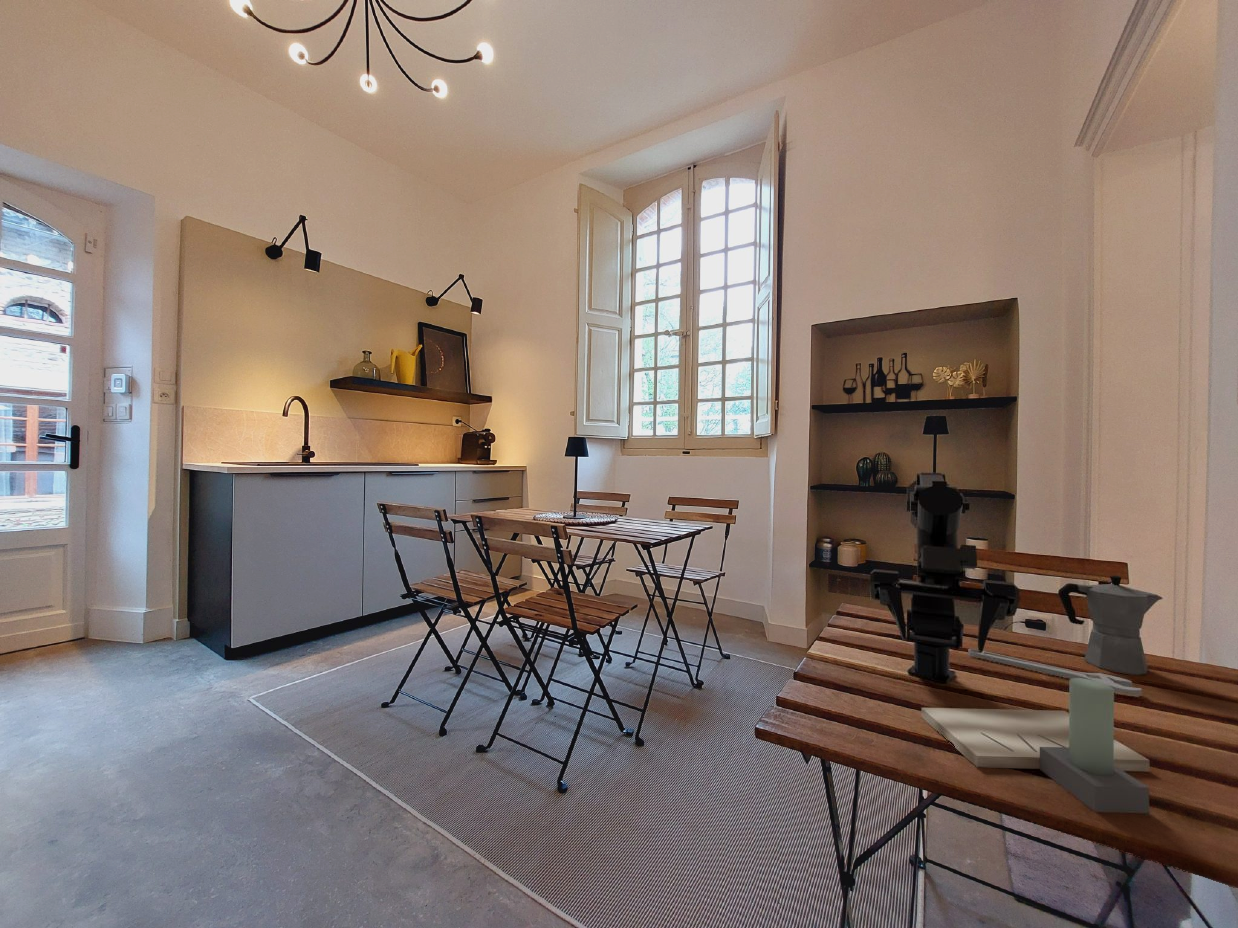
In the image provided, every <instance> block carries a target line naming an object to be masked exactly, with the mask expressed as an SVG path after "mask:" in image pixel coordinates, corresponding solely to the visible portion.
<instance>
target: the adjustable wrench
mask: <svg viewBox="0 0 1238 928" xmlns="http://www.w3.org/2000/svg"><path fill="white" fill-rule="evenodd" d="M967 650H968V656H969V657H971V656H972V657H971V658H974V657H975V658H974V659H978V658H981V659H980V660H982V659H987V660H989V661H988V662H991V661H993V662H992V663H995V662H999V663H998V664H1000V663H1003V664H1002V665H1004V664H1009V665H1014V666H1017V667H1022V668H1027V669H1030V670H1035V671H1041V672H1044V673H1047V674H1046V675H1048V674H1050V675H1049V676H1052V675H1056V676H1061V677H1063V678H1062V679H1065V678H1069V679H1072V678H1083V679H1089V680H1094V681H1097V682H1101V683H1103V684H1106V685H1108V686H1110V687H1112V688H1113V689H1114V691H1115V692H1118V693H1124V694H1131V695H1142V691H1143V690H1142V688H1140V687H1133V682H1132V680H1129V679H1126V678H1123V677H1119V676H1114V675H1110V674H1106V673H1105V674H1104V673H1103V672H1097V673H1095V672H1083V671H1076V670H1072V669H1067V668H1063V667H1058V666H1055V665H1049V664H1046V663H1045V664H1044V663H1040V662H1035V661H1030V660H1026V659H1021V658H1018V657H1013V656H1008V655H1003V654H999V653H995V652H992V651H991V652H990V651H985V650H983V652H982V653H979V650H978V648H977V649H976V648H969V649H967ZM987 660H986V661H987ZM1017 667H1016V668H1017ZM1030 670H1029V671H1030ZM1035 671H1034V672H1035ZM1056 676H1055V677H1056ZM1061 677H1060V678H1061ZM1069 679H1068V680H1069Z"/></svg>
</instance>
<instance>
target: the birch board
mask: <svg viewBox="0 0 1238 928" xmlns="http://www.w3.org/2000/svg"><path fill="white" fill-rule="evenodd" d="M920 712H921V718H922V719H923V721H925V723H927V724H928V725H930V727H932V729H934V730H935V731H936V732H937V731H938V732H939V733H938V732H937V733H938V734H939V735H941V734H942V735H943V736H944V737H946V738H947V739H948V740H950V741H951V742H952V743H953V744H954V746H955V747H954V746H953V747H954V748H955V749H956V750H957V751H959V753H961V754H962V756H964V757H965V758H966V759H967V760H969V761H970V762H971V763H972V764H973V765H974V766H975V767H976V768H995V769H996V768H997V769H998V768H1000V769H1032V770H1033V769H1034V770H1035V769H1036V770H1037V769H1038V770H1040V747H1069V711H1068V712H1067V711H1066V710H1052V709H1051V710H1047V709H1046V710H1044V709H1043V710H1041V709H1006V708H1005V709H1003V708H1001V709H999V708H998V709H997V708H996V709H994V708H954V707H953V708H952V707H951V708H950V707H946V708H945V707H921V711H920ZM942 735H941V736H942ZM943 736H942V737H943ZM944 737H943V738H944ZM1114 766H1116V767H1118V768H1119V769H1121V770H1122V771H1124V772H1146V773H1147V772H1150V759H1148V758H1146V757H1145V756H1144V755H1141V754H1140V753H1138V752H1136V751H1135V750H1133V749H1131V748H1129V747H1128V746H1126V745H1124V744H1122V743H1121V742H1119V741H1117V740H1116V739H1114Z"/></svg>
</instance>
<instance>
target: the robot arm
mask: <svg viewBox="0 0 1238 928" xmlns="http://www.w3.org/2000/svg"><path fill="white" fill-rule="evenodd" d="M963 494H964V493H961V492H959V489H958V487H957V486H954V485H950V484H948V482H947V481H946V474H945V473H941V472H919V473H916V479H915V481H913V482H912V483H910V484H909V485H908V486H907V487H906V512H909V514H910V515H909V516H910V517H909V518H910V521H909V522H910V524H911V525H912V526H913V527H914V528H915V529H916V563H917V564H916V571H917V573H916V575H917V576H916V577H917V580H916V581H911V580H903V579H899V571H897V570H886V569H876V568H875V569H873V570H872V571H870V575H869V577H870V579H869V585H870V587H869V589H870V598H871V599H873V600H875V601H879V604H880V605H882V606H886V607H887V609H888V610H889V612H890V614H891V616H892V617H893V619H894V621H895V623H896V627H897V629H898V631H899V634H900V636H901V639H902V641H903V642H911V643H913V645H914V646H913V650H914V651H913V665H912V666H911V667H909V668H908V669H907V673H908V674H910V675H914V676H917V675H918V677H920V676H922V677H921V678H923V677H924V679H927V678H928V680H930V679H933V680H932V681H934V680H935V682H937V681H939V682H938V683H941V682H943V683H942V684H947V683H948V682H950V681H951V680H952V679H953V678H954V677H955V676H956V674H957V672H956V671H955V670H952V669H950V649H951V648H952V649H954V650H955V649H956V650H960V648H963V638H964V637H963V636H964V629H965V628H964V627H965V625H964V624H963V623H962V621H961V619H960V615H956V612H955V611H956V610H955V609H956V608H955V603H954V600H959V601H969V602H977V603H978V602H979V603H980V611H979V613H978V614H979V617H978V630H977V631H978V633H977V634H978V635H977V650H979V653H982V652H983V651H984V648H985V644H986V642H987V638H988V635H989V632H990V630H991V629H992V627H993V625H994V624H995V622H996V621H1003V620H1005V618H1006V617H1013V616H1016V613H1017V610H1018V607H1019V604H1020V602H1021V595H1020V588H1018V586H1017V585H1016V584H1015V583H1013V582H1012V581H1000V580H991V579H990V580H989V579H983V582H982V586H981V588H978V587H969V586H962V582H964V569H969V570H971V569H972V570H975V569H976V568H977V567H978V553H977V552H978V551H977V545H973V544H969V545H968V544H961V545H960V547H959V534H958V531H959V529H960V526H961V520H962V515H965V514H966V511H970V502H969V501H968V500H967V499H966V498H965V497H964V495H963ZM902 594H906V595H912V597H911V599H910V609H908V608H906V619H905V612H904V607H903V606H904V605H903V599H902V598H903V596H902ZM950 679H951V680H950Z"/></svg>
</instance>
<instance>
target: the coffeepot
mask: <svg viewBox="0 0 1238 928" xmlns="http://www.w3.org/2000/svg"><path fill="white" fill-rule="evenodd" d="M1110 580H1111V581H1110V582H1111V583H1108V584H1106V583H1105V584H1102V583H1101V584H1078V583H1073V582H1071V583H1069V582H1068V583H1066V584H1064V585H1063V586H1062V587H1061V588H1059V589H1058V592H1057V593H1058V597H1059V599H1060V602H1061V604H1062V606H1063V609H1064V611H1065V613H1066V616H1067V618H1068V620H1069V622H1070V623H1072V624H1073V625H1074V624H1075V625H1084V623H1085V620H1081V619H1078V618H1077V617H1076V609H1075V608H1074V606H1073V604H1072V599H1071V596H1070V594H1071V593H1073V594H1078V595H1084V596H1085V597H1086V598H1085V599H1086V602H1087V603H1086V604H1087V608H1088V613H1089V619H1090V621H1092V628H1091V630H1090V631H1091V632H1090V634H1089V639H1088V643H1087V647H1086V651H1085V656H1084V661H1086V662H1087V663H1088V664H1090V665H1092V666H1094V667H1097V668H1099V669H1103V670H1106V671H1109V672H1114V673H1118V674H1125V675H1130V676H1131V675H1134V676H1142V675H1146V674H1147V671H1148V665H1147V661H1146V654H1145V652H1144V646H1143V642H1142V638H1141V633H1140V631H1141V630H1140V629H1141V628H1143V627H1142V626H1143V622H1144V617H1145V615H1146V613H1147V612H1148V611H1149V610H1150V609H1151V608H1152V607H1153V606H1154V605H1155V604H1156V603H1157V602H1158V601H1160V600H1163V597H1162V596H1161V595H1158V594H1155V593H1151V592H1147V591H1143V590H1139V589H1134V588H1131V587H1128V586H1124V585H1120V584H1121V580H1122V576H1119V575H1110Z"/></svg>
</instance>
